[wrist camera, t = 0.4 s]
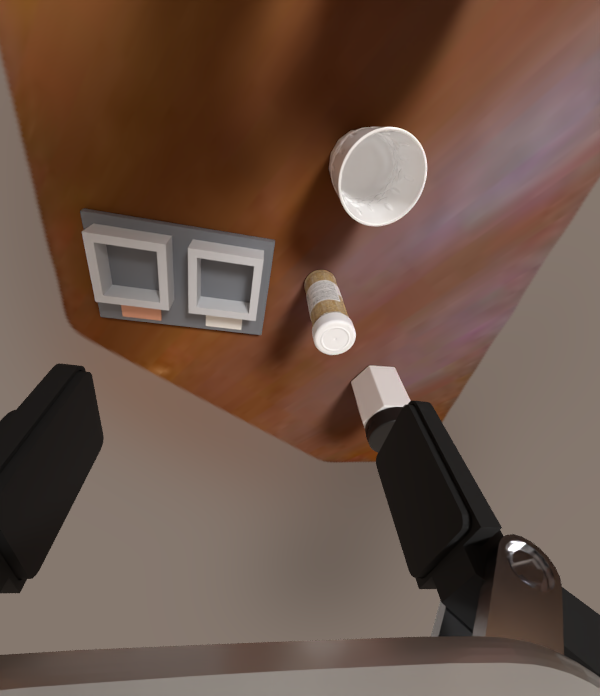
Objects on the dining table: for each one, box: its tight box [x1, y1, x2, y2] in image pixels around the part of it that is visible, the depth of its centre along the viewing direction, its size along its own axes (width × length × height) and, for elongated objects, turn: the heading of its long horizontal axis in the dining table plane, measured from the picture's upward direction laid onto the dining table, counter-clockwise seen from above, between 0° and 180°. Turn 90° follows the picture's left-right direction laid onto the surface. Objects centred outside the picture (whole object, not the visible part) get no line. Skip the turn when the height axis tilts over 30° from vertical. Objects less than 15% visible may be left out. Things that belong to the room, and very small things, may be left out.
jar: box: [351, 365, 410, 453], centre depth 53 cm, size 9×8×12 cm
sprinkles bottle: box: [304, 270, 356, 355], centre depth 40 cm, size 5×5×13 cm
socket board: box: [80, 208, 275, 335], centre depth 42 cm, size 14×22×4 cm, turn 79°
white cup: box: [329, 127, 427, 226], centre depth 33 cm, size 8×8×10 cm
